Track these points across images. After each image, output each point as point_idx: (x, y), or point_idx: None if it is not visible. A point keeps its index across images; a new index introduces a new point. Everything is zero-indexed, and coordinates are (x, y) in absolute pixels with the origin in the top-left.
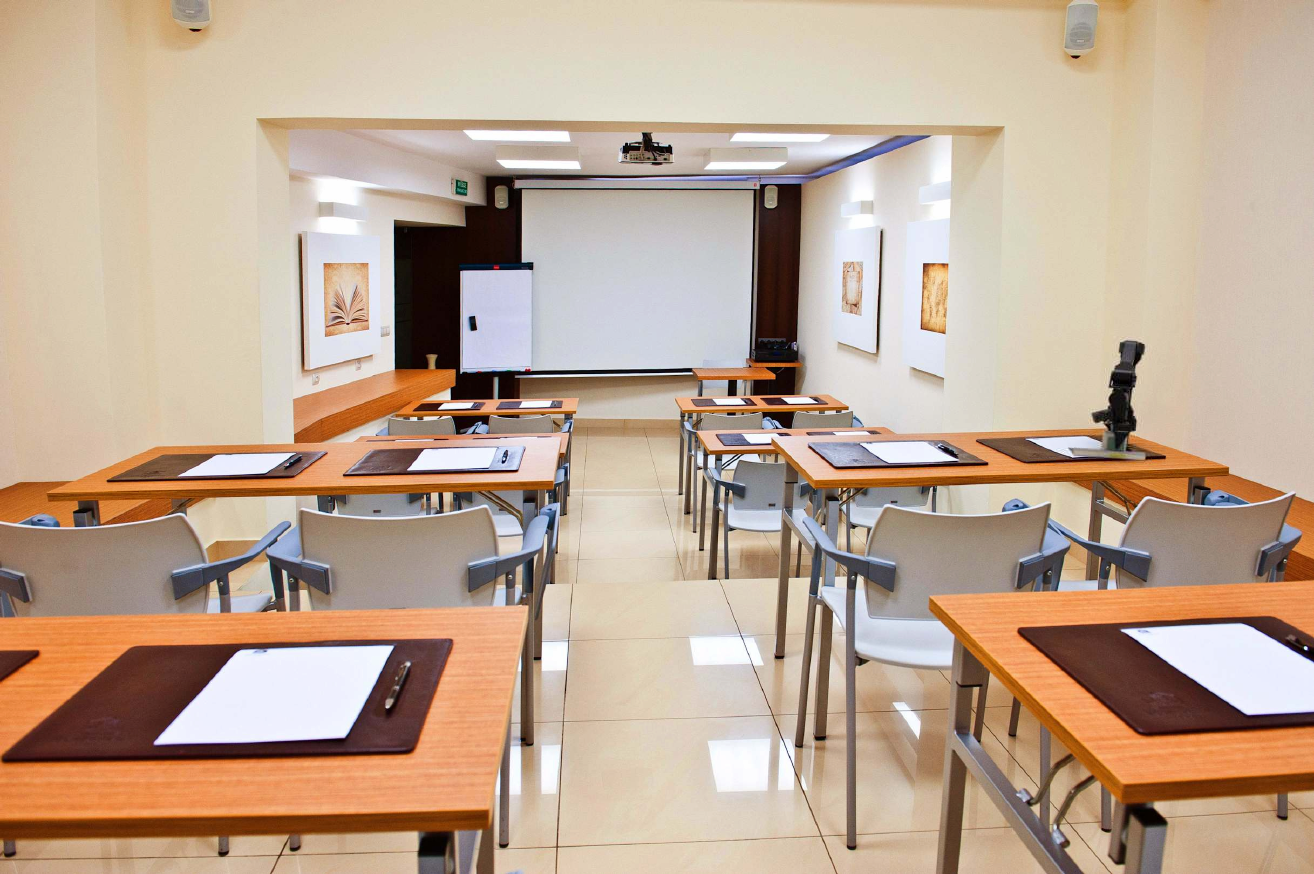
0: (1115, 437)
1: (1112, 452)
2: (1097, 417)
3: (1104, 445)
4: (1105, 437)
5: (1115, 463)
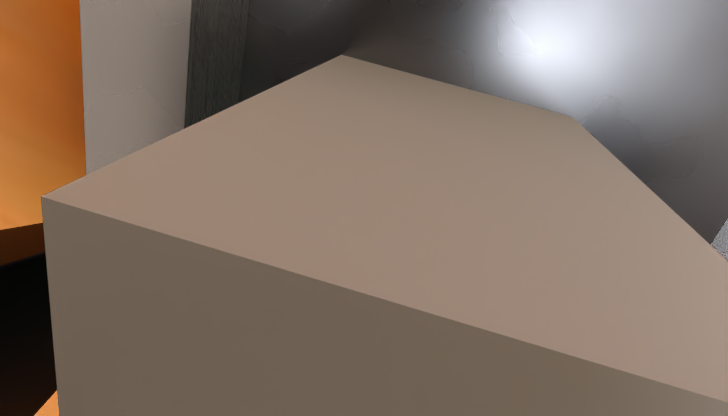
0: None
1: (99, 109)
2: None
3: (320, 86)
4: (239, 140)
5: (39, 66)
